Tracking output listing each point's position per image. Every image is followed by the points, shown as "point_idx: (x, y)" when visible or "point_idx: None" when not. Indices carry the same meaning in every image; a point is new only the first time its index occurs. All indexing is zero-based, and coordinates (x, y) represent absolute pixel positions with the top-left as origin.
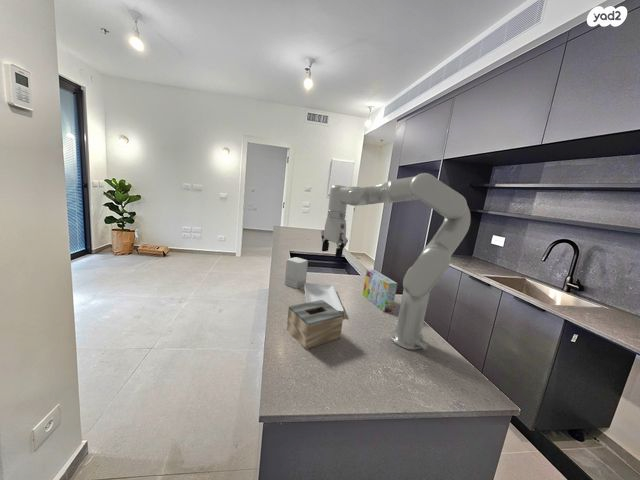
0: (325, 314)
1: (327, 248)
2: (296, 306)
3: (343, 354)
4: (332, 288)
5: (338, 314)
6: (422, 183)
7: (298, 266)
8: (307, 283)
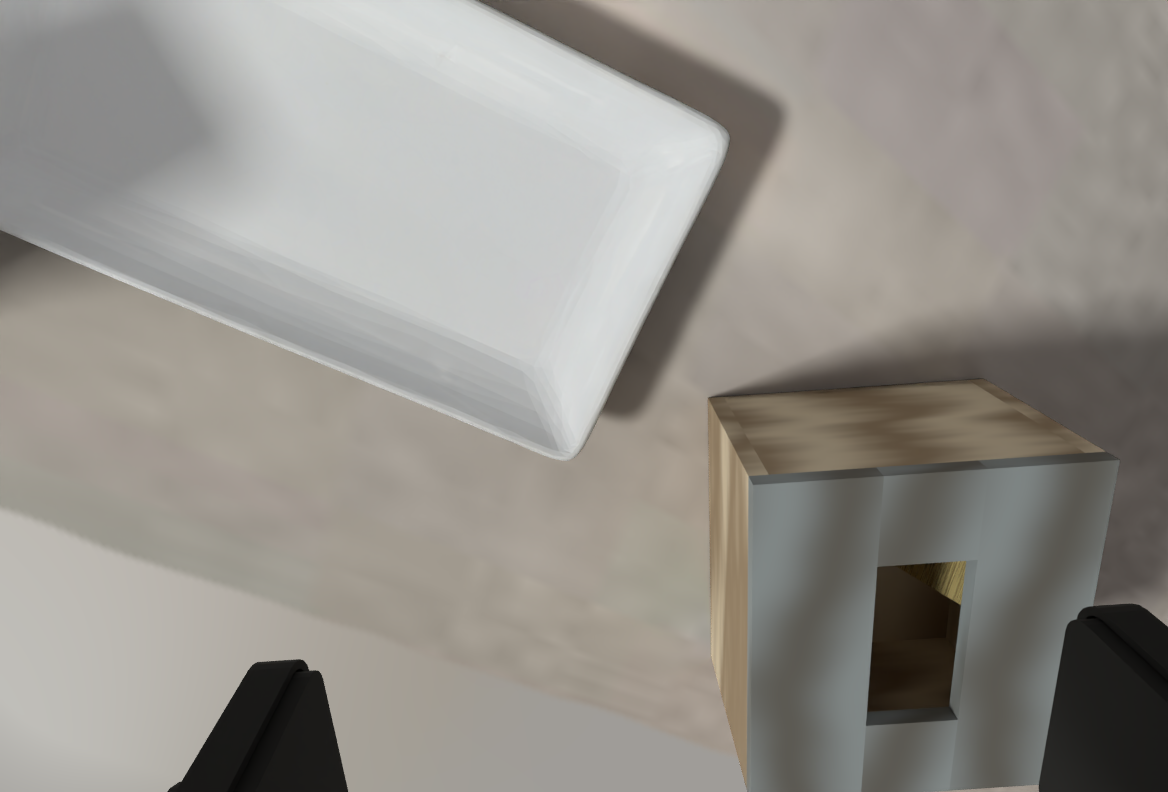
0: (1023, 609)
1: (295, 776)
2: (779, 755)
3: (1129, 463)
4: None
5: (1089, 503)
6: None
7: None
8: None
